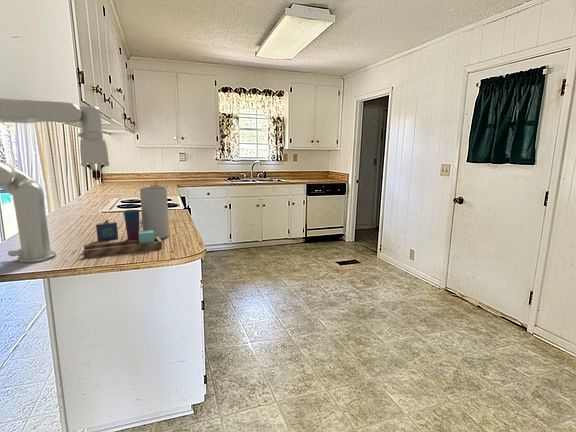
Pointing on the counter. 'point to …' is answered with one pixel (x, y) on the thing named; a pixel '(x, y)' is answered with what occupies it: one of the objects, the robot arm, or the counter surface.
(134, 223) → the cup
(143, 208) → the cylinder vase
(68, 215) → the counter surface
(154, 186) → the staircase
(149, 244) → the chute
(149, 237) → the block
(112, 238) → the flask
